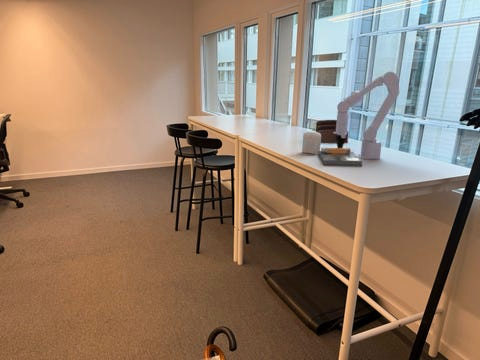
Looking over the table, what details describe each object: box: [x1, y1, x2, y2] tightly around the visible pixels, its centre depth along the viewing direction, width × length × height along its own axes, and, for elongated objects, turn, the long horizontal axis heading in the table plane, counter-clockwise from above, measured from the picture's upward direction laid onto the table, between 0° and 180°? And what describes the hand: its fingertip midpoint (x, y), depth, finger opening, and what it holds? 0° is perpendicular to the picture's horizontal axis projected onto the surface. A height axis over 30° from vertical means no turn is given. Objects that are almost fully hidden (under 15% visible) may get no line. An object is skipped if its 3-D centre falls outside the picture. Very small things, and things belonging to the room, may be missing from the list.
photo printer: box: [301, 130, 321, 155], centre depth 188 cm, size 10×4×12 cm, turn 56°
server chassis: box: [317, 150, 363, 167], centre depth 173 cm, size 18×22×3 cm
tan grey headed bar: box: [320, 147, 352, 153], centre depth 178 cm, size 15×4×2 cm, turn 84°
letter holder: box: [315, 119, 349, 144], centre depth 223 cm, size 10×20×14 cm, turn 85°
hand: (339, 149), depth 184 cm, fingers closed
